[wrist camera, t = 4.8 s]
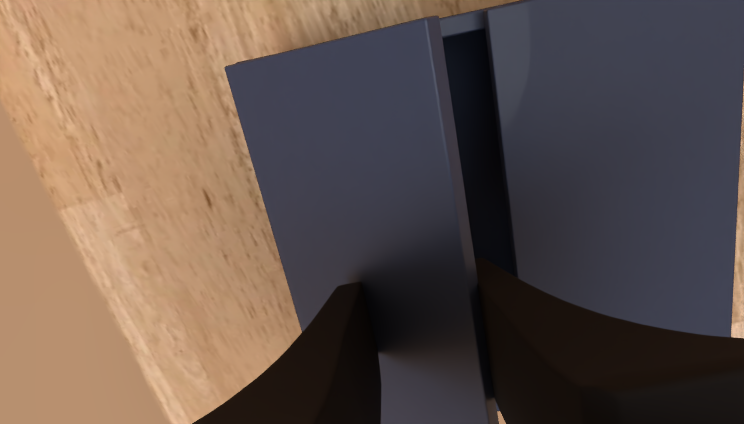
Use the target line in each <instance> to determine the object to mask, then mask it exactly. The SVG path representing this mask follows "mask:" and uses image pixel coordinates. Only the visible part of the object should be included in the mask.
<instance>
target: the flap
mask: <svg viewBox="0 0 744 424" xmlns="http://www.w3.org/2000/svg"><path fill="white" fill-rule="evenodd" d="M225 71H226V75H227V78H228V82H229V85H230V88H231V92H232V95H233V99H234V102H235V105H236V109H237V112H238V116H239V119H240V122H241V126H242V129H243V133H244V136H245V140H246V143H247V146H248V150H249V153H250V157H251V160H252V163H253V167H254V170H255V174H256V177H257V180H258V184H259V187H260V191H261V194H262V197H263V201H264V204H265V208H266V211H267V214H268V218H269V221H270V225H271V228H272V231H273V235H274V238H275V242H276V245H277V249H278V252H279V255H280V259H281V262H282V266H283V269H284V272H285V276H286V279H287V283H288V286H289V289H290V293H291V296H292V300H293V303H294V306H295V310H296V313H297V317H298V320H299V323H300V327H301V330H302V332H303V331H304V330H305V329H306V328H307V326H308V325H309V324H310V323H311V321H312V320H313V319H314V317H315V316H316V315H317V313H318V312H319V311H320V309H321V308H322V307H323V305H324V304H325V302H326V301H327V300H328V298H329V297H330V296H331V294H332V293H333V291H334V290H335V289H336V287H337V286H340V285H345V284H350V283H355V282H361V283H362V287H363V291H364V295H365V300H366V304H367V308H368V312H369V316H370V320H371V325H372V329H373V333H374V337H375V341H376V345H377V350H378V356H379V365H380V375H381V424H499V421H498V415H497V408H496V401H495V399H494V392H493V385H492V379H491V372H490V365H489V359H488V352H487V345H486V339H485V332H484V325H483V319H482V312H481V305H480V299H479V292H478V285H477V284H478V278H477V272H476V265H475V258H474V251H473V244H472V238H471V231H470V224H469V217H468V210H467V204H466V197H465V190H464V183H463V176H462V169H461V163H460V156H459V149H458V142H457V135H456V129H455V122H454V115H453V108H452V101H451V95H450V88H449V81H448V74H447V67H446V61H445V54H444V47H443V40H442V33H441V26H440V20H439V17H438V16H431V17H425V18H421V19H417V20H413V21H409V22H405V23H401V24H397V25H393V26H388V27H384V28H380V29H376V30H372V31H368V32H364V33H360V34H356V35H352V36H348V37H343V38H339V39H335V40H331V41H327V42H323V43H319V44H315V45H311V46H307V47H303V48H299V49H294V50H290V51H286V52H282V53H278V54H274V55H270V56H266V57H262V58H258V59H254V60H249V61H245V62H241V63H237V64H233V65H229V66H226V67H225Z"/></svg>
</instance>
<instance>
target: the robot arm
mask: <svg viewBox="0 0 744 424" xmlns="http://www.w3.org/2000/svg"><path fill="white" fill-rule="evenodd" d="M475 265H476V272H477V278H478V284H477V285H478V292H479V299H480V305H481V312H482V319H483V325H484V332H485V339H486V345H487V352H488V359H489V365H490V372H491V379H492V385H493V392H494V399H495V401H496V403H497V405H498V407H499V409H500V412H501V414H502V416H503V418H504V420H505V422H506V424H744V339H743V338H732V337H721V336H710V335H701V334H694V333H688V332H682V331H675V330H669V329H663V328H658V327H653V326H648V325H643V324H639V323H635V322H631V321H627V320H623V319H619V318H615V317H611V316H608V315H604V314H601V313H598V312H595V311H592V310H589V309H586V308H583V307H580V306H577V305H574V304H572V303H569V302H567V301H564V300H562V299H559V298H557V297H555V296H553V295H551V294H548V293H546V292H544V291H542V290H540V289H538V288H536V287H534V286H532V285H530V284H528V283H526V282H524V281H522V280H520V279H519V278H517V277H515V276H513V275H511V274H510V273H508V272H506V271H505V270H503V269H501V268H499V267H498V266H496V265H495V264H493V263H491V262H489V261H488V260H486V259H484V258H477V259H475ZM192 424H381V375H380V365H379V356H378V350H377V345H376V341H375V337H374V333H373V329H372V325H371V320H370V316H369V312H368V308H367V304H366V300H365V295H364V291H363V287H362V283H361V282H355V283H350V284H345V285H340V286H337V287H336V289H335V290H334V291H333V293H332V294H331V296H330V297H329V298H328V300H327V301H326V302H325V304H324V305H323V307H322V308H321V309H320V311H319V312H318V313H317V315H316V316H315V317H314V319H313V320H312V321H311V323H310V324H309V325H308V326H307V328H306V329H305V330H304V331H303V332H302V333H301V335H300V336H299V337H298V338H297V339H296V340H295V342H294V343H293V344H292V345H291V346H290V347H289V348H288V349H287V350H286V352H285V353H284V354H283V355H282V356H281V357H280V358H279V359H278V360H277V361H275V362H274V363H273V364H272V365H271V366H270V367H269V368H268V369H267V370H266V371H265V372H263V373H262V374H261V375H260V376H259V377H258V378H256V379H255V380H254V381H253V382H251V383H250V384H249V385H247V386H246V387H245V388H243V389H242V390H241V391H240V392H238V393H237V394H236V395H234V396H233V397H232V398H231V399H229V400H228V401H226V402H225V403H224V404H222V405H221V406H219V407H218V408H216V409H215V410H213V411H212V412H210V413H209V414H207V415H205V416H204V417H202V418H201V419H199V420H197V421H196V422H194V423H192Z"/></svg>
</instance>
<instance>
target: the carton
mask: <svg viewBox="0 0 744 424" xmlns="http://www.w3.org/2000/svg"><path fill="white" fill-rule="evenodd" d="M439 20H440V26H441V33H442V40H443V47H444V54H445V61H446V67H447V74H448V81H449V88H450V95H451V101H452V108H453V115H454V122H455V129H456V135H457V142H458V149H459V156H460V163H461V169H462V176H463V183H464V190H465V197H466V204H467V210H468V217H469V224H470V231H471V238H472V244H473V251H474V258H475V259H477V258H484V259H486V260H488V261H489V262H491V263H493V264H495V265H496V266H498V267H499V268H501V269H503V270H505V271H506V272H508V273H510V274H511V275H513V276H515V277H517V278H519V279H520V280H522V281H524V282H526V283H528V284H530V285H532V286H534V287H536V288H538V289H540V290H542V291H544V292H546V293H548V294H551V295H553V296H555V297H557V298H559V299H562V300H564V301H567V302H569V303H572V304H574V305H577V306H580V307H583V308H586V309H589V310H592V311H595V312H598V313H601V314H604V315H608V316H611V317H615V318H619V319H623V320H627V321H631V322H635V323H639V324H643V325H648V326H653V327H658V328H663V329H669V330H675V331H682V332H688V333H694V334H701V335H710V336H721V337H731V323H732V303H733V283H734V263H735V243H736V222H737V202H738V182H739V162H740V142H741V122H742V102H743V82H744V0H521V1H517V2H512V3H507V4H503V5H498V6H494V7H489V8H484V9H480V10H475V11H471V12H466V13H462V14H457V15H452V16H448V17H443V18H439ZM273 55H274V54H273ZM269 56H270V55H269ZM264 57H266V56H264ZM260 58H262V57H260ZM255 59H258V58H255ZM251 60H254V59H251ZM246 61H249V60H246ZM241 62H245V61H241ZM241 62H237V63H241ZM237 63H235V64H237ZM496 408H497V411H500V409H499V407H498V405H497V403H496Z"/></svg>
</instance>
